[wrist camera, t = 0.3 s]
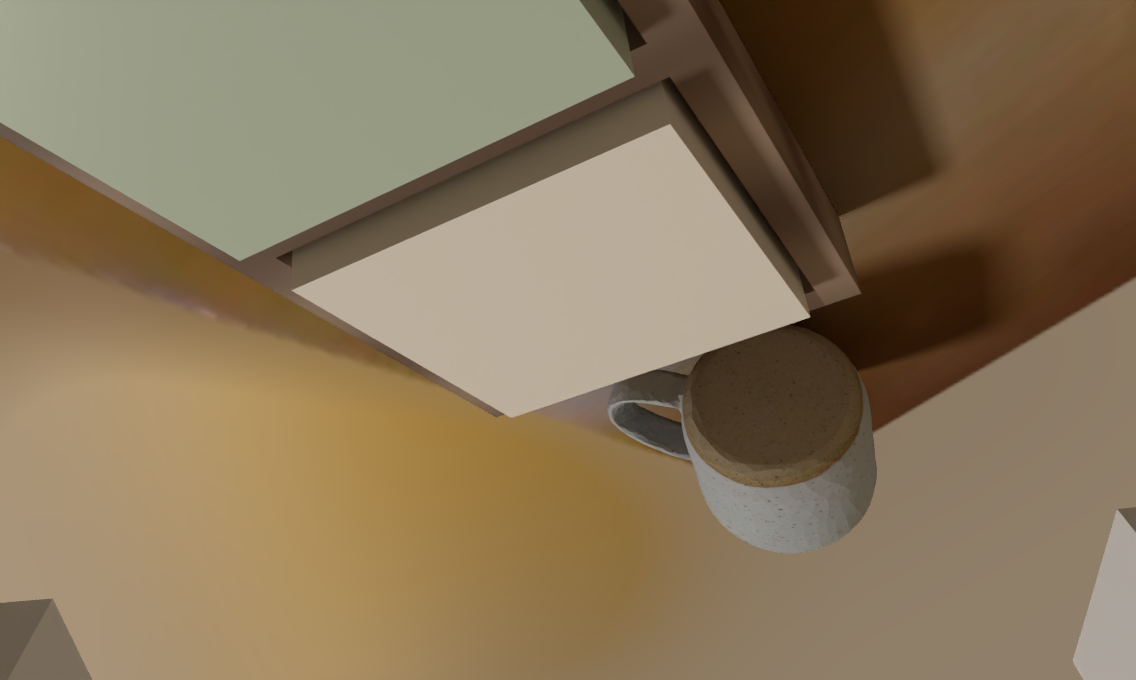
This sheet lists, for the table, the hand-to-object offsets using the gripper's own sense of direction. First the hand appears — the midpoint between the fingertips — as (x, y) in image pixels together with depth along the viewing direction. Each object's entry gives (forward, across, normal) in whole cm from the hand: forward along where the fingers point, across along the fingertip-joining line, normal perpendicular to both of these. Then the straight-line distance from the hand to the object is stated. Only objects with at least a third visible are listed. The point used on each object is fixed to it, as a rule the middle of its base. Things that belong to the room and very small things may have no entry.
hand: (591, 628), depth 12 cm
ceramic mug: (+27, +7, -14) cm, 31 cm away
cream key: (+18, 0, -3) cm, 18 cm away
